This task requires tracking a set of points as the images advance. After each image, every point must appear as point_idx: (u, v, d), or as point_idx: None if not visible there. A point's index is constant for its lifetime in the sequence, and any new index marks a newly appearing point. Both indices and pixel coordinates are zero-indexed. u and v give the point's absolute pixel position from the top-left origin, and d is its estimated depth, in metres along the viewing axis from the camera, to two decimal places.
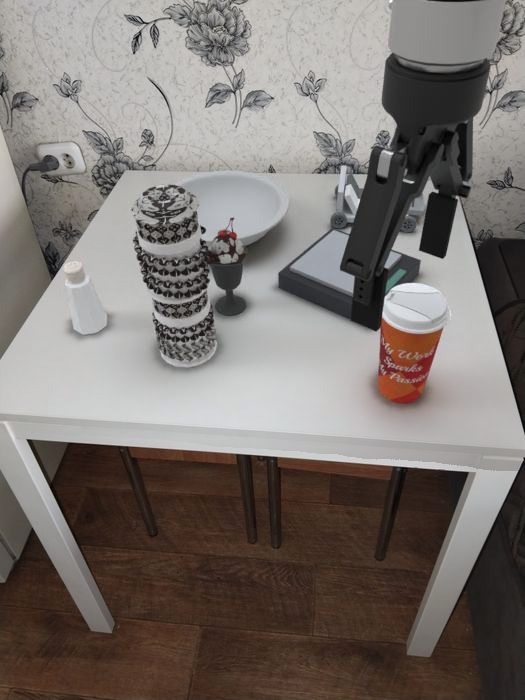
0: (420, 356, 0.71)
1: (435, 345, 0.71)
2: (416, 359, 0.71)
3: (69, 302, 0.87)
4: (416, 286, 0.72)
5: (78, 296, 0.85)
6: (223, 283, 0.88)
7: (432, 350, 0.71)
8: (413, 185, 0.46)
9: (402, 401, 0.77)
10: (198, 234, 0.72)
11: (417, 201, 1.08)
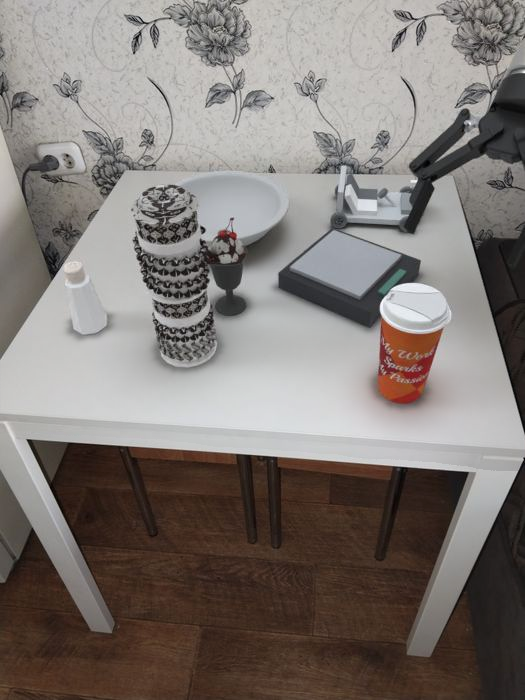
0: (420, 356, 0.71)
1: (435, 345, 0.71)
2: (416, 359, 0.71)
3: (69, 302, 0.87)
4: (416, 286, 0.72)
5: (78, 296, 0.85)
6: (223, 283, 0.88)
7: (432, 350, 0.71)
8: None
9: (402, 401, 0.77)
10: (198, 234, 0.72)
11: None
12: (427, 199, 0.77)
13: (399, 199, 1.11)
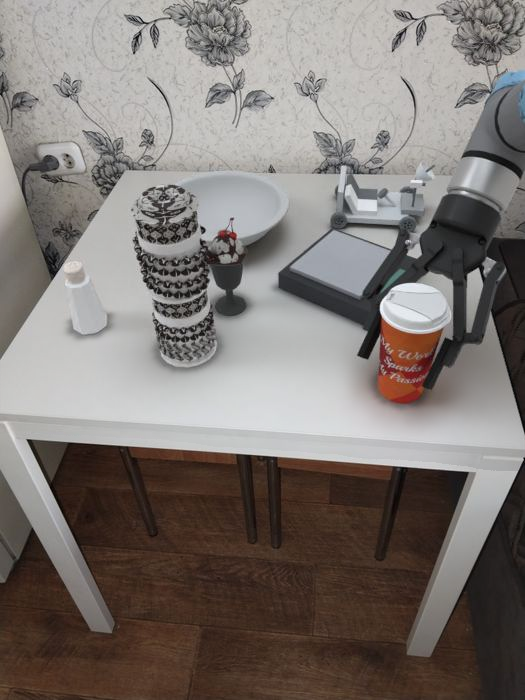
0: (420, 356, 0.71)
1: (435, 345, 0.71)
2: (416, 359, 0.71)
3: (69, 302, 0.87)
4: (416, 286, 0.72)
5: (78, 296, 0.85)
6: (223, 283, 0.88)
7: (432, 350, 0.71)
8: None
9: (402, 401, 0.77)
10: (198, 234, 0.72)
11: (417, 201, 1.08)
12: None
13: (399, 199, 1.11)
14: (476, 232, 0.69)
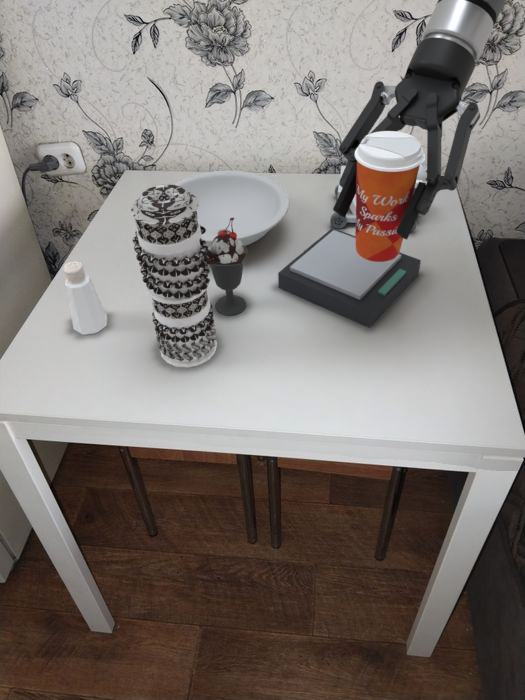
0: (395, 201, 0.71)
1: (410, 191, 0.71)
2: (391, 205, 0.72)
3: (69, 302, 0.87)
4: (391, 133, 0.72)
5: (78, 296, 0.85)
6: (223, 283, 0.88)
7: (406, 196, 0.72)
8: None
9: (379, 259, 0.78)
10: (198, 234, 0.72)
11: None
12: None
13: None
14: (449, 73, 0.69)
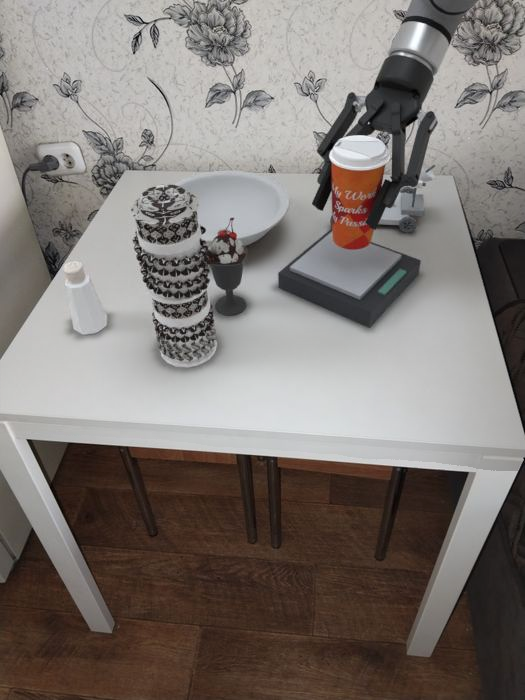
0: (364, 196, 0.82)
1: (377, 187, 0.82)
2: (361, 199, 0.83)
3: (69, 302, 0.87)
4: (361, 137, 0.83)
5: (78, 296, 0.85)
6: (223, 283, 0.88)
7: (374, 192, 0.83)
8: None
9: (352, 247, 0.89)
10: (198, 234, 0.72)
11: (417, 201, 1.08)
12: None
13: (399, 199, 1.11)
14: (410, 86, 0.80)
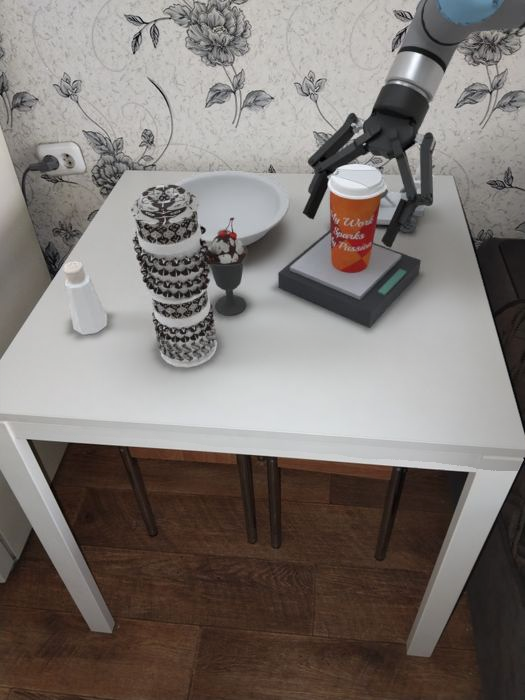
0: (361, 223, 0.85)
1: (374, 214, 0.85)
2: (358, 226, 0.86)
3: (69, 302, 0.87)
4: (358, 165, 0.86)
5: (78, 296, 0.85)
6: (223, 283, 0.88)
7: (371, 219, 0.86)
8: None
9: (350, 270, 0.92)
10: (198, 234, 0.72)
11: None
12: (323, 190, 0.91)
13: (399, 199, 1.11)
14: (406, 113, 0.83)
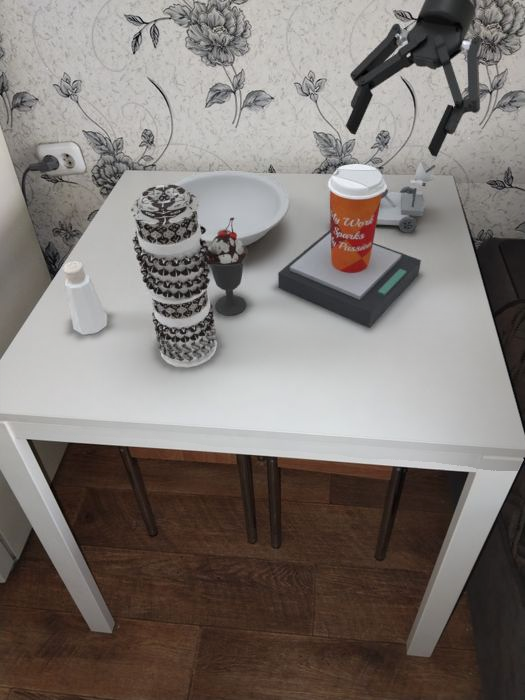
0: (361, 223, 0.85)
1: (374, 214, 0.85)
2: (358, 226, 0.86)
3: (69, 302, 0.87)
4: (358, 165, 0.86)
5: (78, 296, 0.85)
6: (223, 283, 0.88)
7: (371, 219, 0.86)
8: None
9: (350, 270, 0.92)
10: (198, 234, 0.72)
11: (417, 201, 1.08)
12: (366, 104, 0.91)
13: (399, 199, 1.11)
14: (454, 19, 0.82)
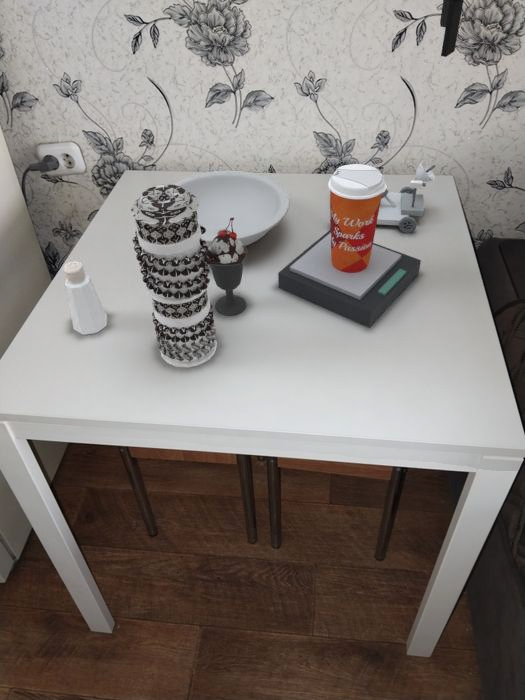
0: (362, 223, 0.85)
1: (374, 214, 0.85)
2: (358, 226, 0.86)
3: (69, 302, 0.87)
4: (359, 165, 0.86)
5: (78, 296, 0.85)
6: (223, 283, 0.88)
7: (371, 219, 0.86)
8: None
9: (350, 270, 0.92)
10: (198, 234, 0.72)
11: (417, 202, 1.08)
12: (458, 15, 0.78)
13: (399, 199, 1.11)
14: None
